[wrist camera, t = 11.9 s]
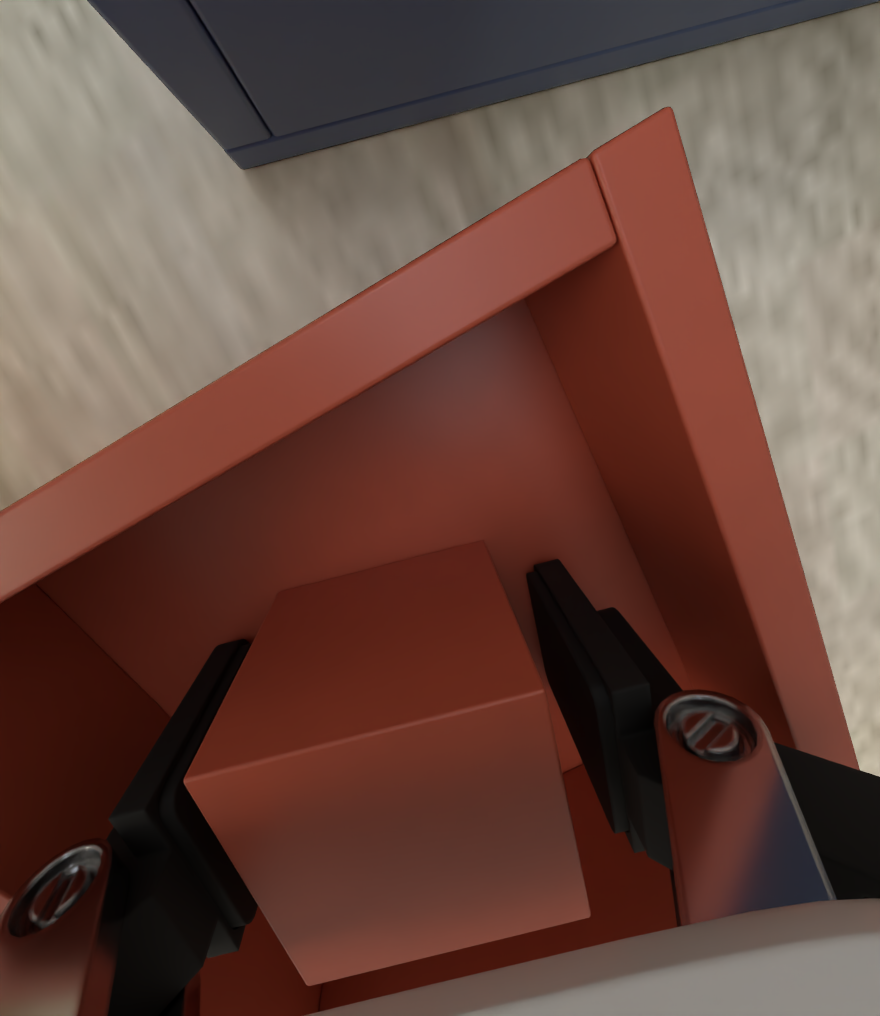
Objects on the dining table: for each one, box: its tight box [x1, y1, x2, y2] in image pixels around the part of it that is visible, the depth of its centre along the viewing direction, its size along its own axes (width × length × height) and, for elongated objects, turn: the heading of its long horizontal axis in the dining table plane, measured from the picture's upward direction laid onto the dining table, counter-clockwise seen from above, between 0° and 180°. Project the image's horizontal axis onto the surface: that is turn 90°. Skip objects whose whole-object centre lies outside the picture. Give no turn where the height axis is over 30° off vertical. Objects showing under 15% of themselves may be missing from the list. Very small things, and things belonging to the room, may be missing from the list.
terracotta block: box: [184, 540, 591, 986], centre depth 8 cm, size 4×4×4 cm
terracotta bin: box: [0, 107, 860, 1016], centre depth 9 cm, size 13×13×5 cm
